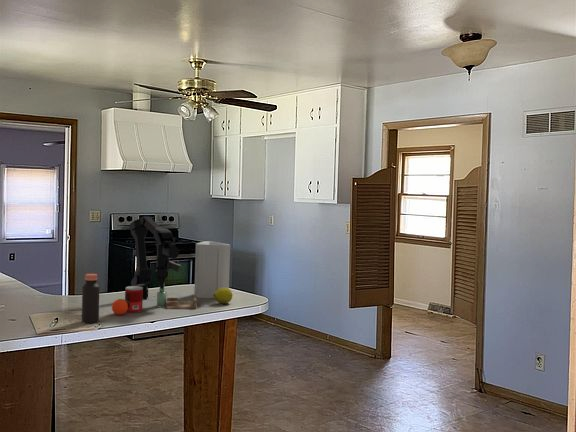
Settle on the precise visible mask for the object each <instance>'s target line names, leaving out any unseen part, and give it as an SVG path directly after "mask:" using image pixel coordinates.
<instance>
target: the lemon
mask: <svg viewBox="0 0 576 432" xmlns="http://www.w3.org/2000/svg"><path fill="white" fill-rule="evenodd" d="M213 296H214V298H213V299H215V301H217V302H218V303H220V304H224V305H225V304H228V303H229V302H231V301H232V299H233V292H232V290H231V289H230V288H229V289H228V288H220V289H218V290H217V291H216V292H215V293H214V295H213Z"/></svg>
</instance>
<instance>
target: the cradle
mask: <svg viewBox="0 0 576 432" xmlns="http://www.w3.org/2000/svg"><path fill="white" fill-rule="evenodd" d="M197 300H198V299H197V297H196V295H193V300H179V298H178V297H166V306H165V309H169V310H170V309H172V310H173V309H175V310H176V309H177V310H179V309H180V310H181V309H182V310H183V309H184V310H186V309H189V310H190V309H191V310H192V309H193V310H195V309H197V308H198V306H197V305H198V304H197V303H198V302H197Z"/></svg>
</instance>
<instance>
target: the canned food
mask: <svg viewBox="0 0 576 432" xmlns="http://www.w3.org/2000/svg"><path fill="white" fill-rule="evenodd" d="M124 291H125V292H124V299H125V301H126V300H127V301H128V302H127V301H126V302H127V304H128V303H129V304H128V309H127V311H126V312H125V313H127V314H128V313H129V314H130V313H131V314H133V313H134V314H135V312H137V313H141V312H142V311H143V300H144V299H143V287H141V286H130V285H128V286H126V287H125V290H124Z"/></svg>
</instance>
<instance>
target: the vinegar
mask: <svg viewBox="0 0 576 432" xmlns="http://www.w3.org/2000/svg"><path fill="white" fill-rule="evenodd" d="M84 281H85V282H84V284H83V285H82V294H81V295H82V296H81V323H83V322H85V323H84V324H96V323H98V322H99V321H100V320H99V318H100V285H99V284H98V282H97V281H98V274H97V273H86V274H85V275H84Z"/></svg>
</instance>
